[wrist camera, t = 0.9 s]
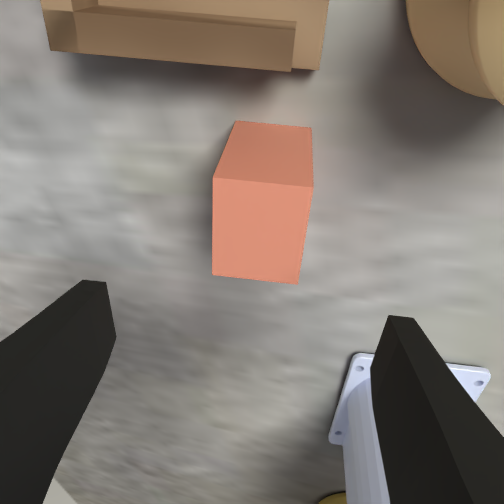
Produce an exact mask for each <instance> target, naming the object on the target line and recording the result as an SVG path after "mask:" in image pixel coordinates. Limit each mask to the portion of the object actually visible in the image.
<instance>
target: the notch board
mask: <svg viewBox="0 0 504 504" xmlns="http://www.w3.org/2000/svg"><path fill="white" fill-rule="evenodd" d="M40 1H41V6H42V11H43V16H44V21H45V26H46V31H47V36H48V40H49V45H50V50H51V51H62V52H73V53H84V54H95V55H107V56H118V57H129V58H140V59H151V60H163V61H174V62H185V63H196V64H207V65H218V66H230V67H241V68H252V69H263V70H274V71H285V72H291V68H299V69H311V70H319V66H320V59H321V53H322V46H323V39H324V32H325V25H326V18H327V11H328V5H329V0H40Z"/></svg>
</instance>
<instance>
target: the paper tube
mask: <svg viewBox="0 0 504 504" xmlns="http://www.w3.org/2000/svg"><path fill="white" fill-rule="evenodd" d="M318 504H347V497H346V493H339V494H334V495H331V496H328V497H326V498H324V499H323V500H321V501H320V502H319V503H318Z"/></svg>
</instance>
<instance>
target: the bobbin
mask: <svg viewBox="0 0 504 504" xmlns="http://www.w3.org/2000/svg"><path fill="white" fill-rule="evenodd" d="M406 12H407V18H408V23H409V28H410V31H411V34H412V37H413V40H414V42H415V44H416V46H417V48H418V50H419V52H420V54H421V55H422V57H423V58H424V59H425V61H426V62H427V63H428V65H429V66H430V67H431V68H432V69H433V70H434V71H435V72H436V73H437V74H438V75H439V76H440V77H442V78H443V79H444V80H445V81H447V82H448V83H449V84H451V85H452V86H454V87H456V88H458V89H460V90H462V91H464V92H466V93H469V94H472V95H475V96H478V97H483V98H489V99H497V100H498V101H499V102H500V103H501V104H502V105H503V106H504V0H406Z"/></svg>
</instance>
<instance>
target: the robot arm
mask: <svg viewBox="0 0 504 504" xmlns="http://www.w3.org/2000/svg"><path fill="white" fill-rule="evenodd" d="M115 340H116V332H115V327H114V322H113V317H112V311H111V306H110V301H109V295H108V290H107V285H106V282H99V281H90V280H82V281H81V282H79V283H78V284H76V285H75V286H74V287H73V288H71V289H70V290H69V291H67V292H66V293H65V294H64V295H62V296H61V297H60V298H58V299H57V300H56V301H55V302H53V303H52V304H51V305H49V306H48V307H47V308H45V309H44V310H43V311H42V312H40V313H39V314H38V315H36V316H35V317H34V318H32V319H31V320H30V321H28V322H27V323H26V324H24V325H23V326H22V327H20V328H19V329H18V330H16V331H15V332H14V333H12V334H11V335H10V336H8V337H7V338H5V339H4V340H3V341H1V342H0V504H43V501H44V499H45V496H46V494H47V491H48V488H49V486H50V483H51V480H52V478H53V476H54V473H55V471H56V469H57V466H58V464H59V462H60V460H61V458H62V456H63V453H64V451H65V449H66V447H67V445H68V443H69V441H70V439H71V438H72V436H73V434H74V432H75V430H76V428H77V426H78V424H79V422H80V420H81V418H82V416H83V414H84V412H85V410H86V408H87V406H88V404H89V402H90V400H91V398H92V396H93V394H94V392H95V390H96V388H97V386H98V384H99V382H100V380H101V378H102V376H103V374H104V371H105V368H106V366H107V363H108V360H109V358H110V355H111V352H112V349H113V346H114V343H115ZM490 378H491V375H490V372H489V370H488V369H486V368H482V367H474V366H466V365H457V364H449V363H445V362H444V360H443V359H442V358H441V356H440V355H439V353H438V352H437V351H436V349H435V348H434V346H433V345H432V343H431V342H430V341H429V339H428V338H427V336H426V335H425V333H424V332H423V330H422V329H421V328H420V326H419V325H418V323H417V322H416V321H415V319H414V318H410V317H401V316H393V315H388V318H387V321H386V324H385V327H384V330H383V332H382V335H381V338H380V341H379V344H378V347H377V349H376V352H375V355H374V354H366V353H358V354H355V355H354V356H353V358H352V361H351V364H350V367H349V370H348V374H347V377H346V380H345V383H344V387H343V390H342V393H341V396H340V400H339V403H338V406H337V409H336V413H335V416H334V419H333V422H332V426H331V429H330V432H329V435H328V436H329V442H330V443H332V444H336V445H343V457H344V470H345V483H346V497H347V504H504V437H503V436H502V435H501V434H500V432H499V431H498V430H497V429H496V428H495V426H494V425H493V424H492V423H491V422H490V420H489V419H488V418H487V417H486V416H485V414H484V413H483V412H482V411H481V409H480V408H479V407H478V406H477V404H476V403H475V402H476V401H477V399H478V397H479V396H480V394H481V393H482V391H483V389H484V388H485V386H486V385H487V383H488V382H489V380H490Z"/></svg>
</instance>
